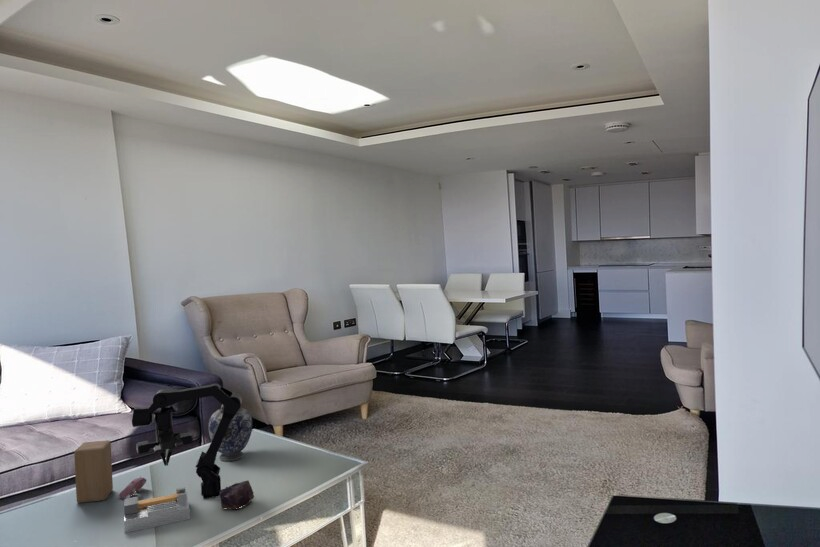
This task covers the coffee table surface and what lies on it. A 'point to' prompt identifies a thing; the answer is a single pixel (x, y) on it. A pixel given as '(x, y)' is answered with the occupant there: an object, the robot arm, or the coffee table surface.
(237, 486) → the rock
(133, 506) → the block
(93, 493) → the block
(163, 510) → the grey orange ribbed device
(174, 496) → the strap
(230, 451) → the decorative vase
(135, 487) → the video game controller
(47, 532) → the coffee table surface
